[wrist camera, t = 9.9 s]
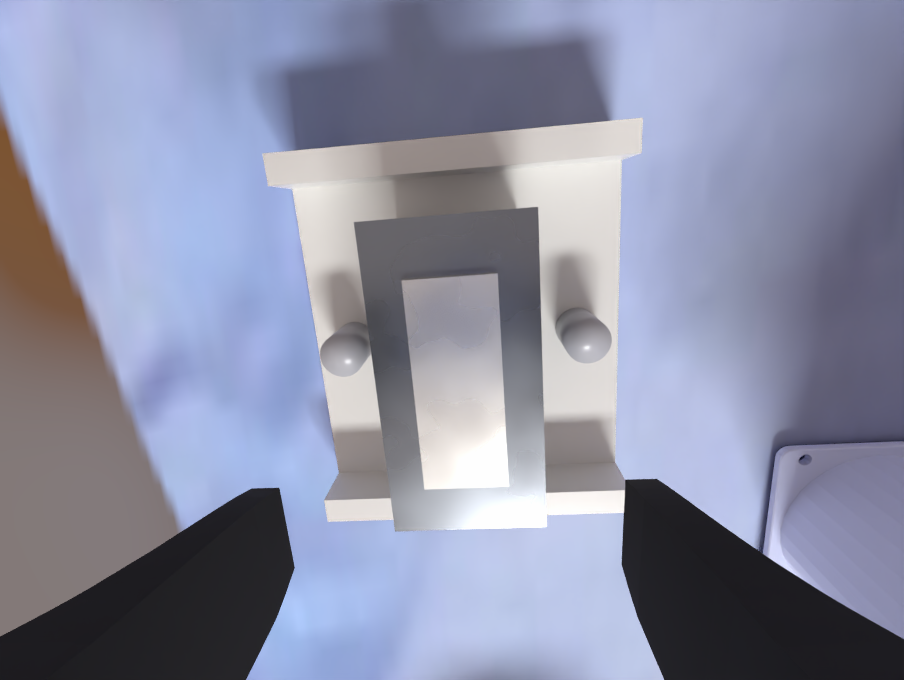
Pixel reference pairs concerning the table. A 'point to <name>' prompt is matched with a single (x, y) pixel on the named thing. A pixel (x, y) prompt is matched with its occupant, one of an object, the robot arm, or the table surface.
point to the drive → (458, 366)
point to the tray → (561, 284)
